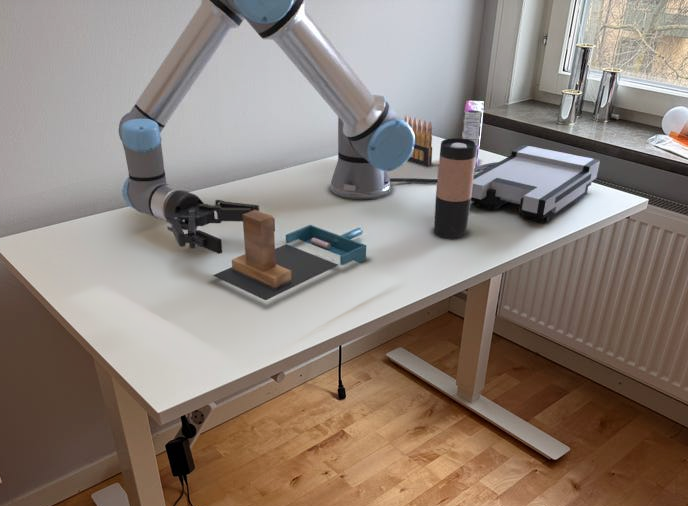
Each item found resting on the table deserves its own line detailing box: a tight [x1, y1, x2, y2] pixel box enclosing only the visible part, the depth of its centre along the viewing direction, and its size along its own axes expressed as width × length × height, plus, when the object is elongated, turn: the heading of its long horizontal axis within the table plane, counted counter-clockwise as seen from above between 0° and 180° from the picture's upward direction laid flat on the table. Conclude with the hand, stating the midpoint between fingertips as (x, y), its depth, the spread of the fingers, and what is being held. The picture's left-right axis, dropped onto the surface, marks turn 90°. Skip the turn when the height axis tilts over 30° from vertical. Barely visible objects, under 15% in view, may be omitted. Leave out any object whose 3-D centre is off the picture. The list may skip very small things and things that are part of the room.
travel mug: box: [433, 137, 477, 240], centre depth 152 cm, size 8×8×20 cm
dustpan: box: [285, 224, 367, 266], centre depth 149 cm, size 15×16×3 cm
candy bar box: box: [461, 100, 485, 169], centre depth 193 cm, size 11×5×16 cm, turn 168°
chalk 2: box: [314, 252, 335, 262], centre depth 143 cm, size 1×5×1 cm, turn 48°
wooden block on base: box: [231, 210, 291, 290], centre depth 132 cm, size 4×12×12 cm, turn 48°
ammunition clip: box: [403, 115, 433, 167], centre depth 197 cm, size 11×2×12 cm, turn 43°
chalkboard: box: [212, 243, 339, 301], centre depth 139 cm, size 20×15×2 cm
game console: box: [471, 144, 601, 224], centre depth 172 cm, size 21×32×8 cm, turn 142°
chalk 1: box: [311, 238, 331, 251], centre depth 150 cm, size 1×5×1 cm
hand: (247, 235), depth 134 cm, fingers open, 13 cm apart
